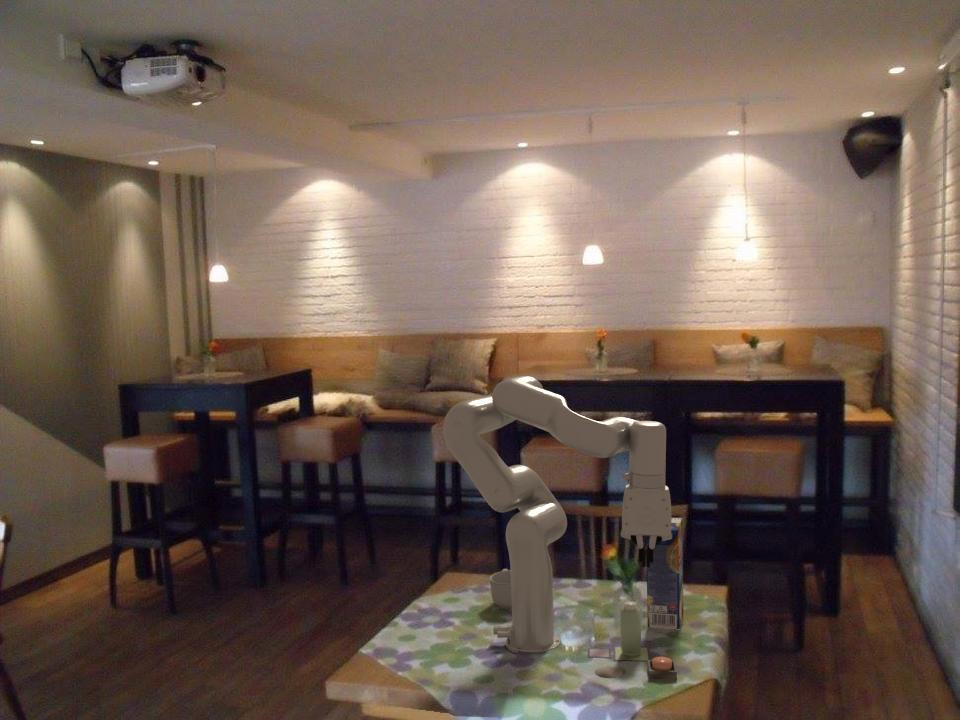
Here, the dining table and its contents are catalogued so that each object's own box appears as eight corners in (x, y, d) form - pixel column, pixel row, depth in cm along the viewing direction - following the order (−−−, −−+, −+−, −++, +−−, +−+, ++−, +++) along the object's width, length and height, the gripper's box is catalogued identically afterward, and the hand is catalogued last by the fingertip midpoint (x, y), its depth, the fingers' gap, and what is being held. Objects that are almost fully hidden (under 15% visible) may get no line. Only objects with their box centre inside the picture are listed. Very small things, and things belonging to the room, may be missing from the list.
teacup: (533, 612, 231) (532, 581, 230) (490, 613, 231) (489, 582, 230) (530, 594, 244) (530, 565, 244) (490, 595, 245) (489, 566, 244)
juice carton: (679, 630, 216) (677, 530, 214) (647, 627, 218) (645, 528, 216) (683, 612, 227) (682, 517, 225) (653, 610, 229) (651, 516, 227)
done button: (652, 673, 187) (652, 664, 187) (651, 665, 191) (651, 656, 191) (672, 674, 187) (672, 664, 187) (671, 666, 191) (671, 656, 191)
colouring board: (579, 686, 187) (579, 673, 186) (581, 648, 206) (581, 636, 206) (679, 689, 184) (678, 676, 184) (671, 650, 204) (671, 638, 203)
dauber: (621, 657, 198) (620, 607, 197) (620, 649, 202) (619, 600, 201) (641, 657, 197) (640, 607, 196) (640, 649, 202) (640, 600, 201)
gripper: (610, 483, 189) (609, 569, 191) (684, 485, 187) (682, 573, 188) (611, 475, 196) (610, 558, 198) (682, 477, 194) (680, 561, 196)
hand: (645, 565), depth 193 cm, fingers closed
